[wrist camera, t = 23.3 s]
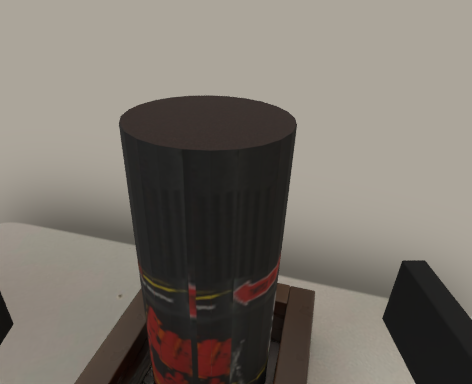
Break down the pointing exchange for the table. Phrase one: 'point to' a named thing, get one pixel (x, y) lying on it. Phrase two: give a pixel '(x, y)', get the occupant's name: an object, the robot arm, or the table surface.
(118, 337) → the frame
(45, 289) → the table surface
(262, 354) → the deodorant
